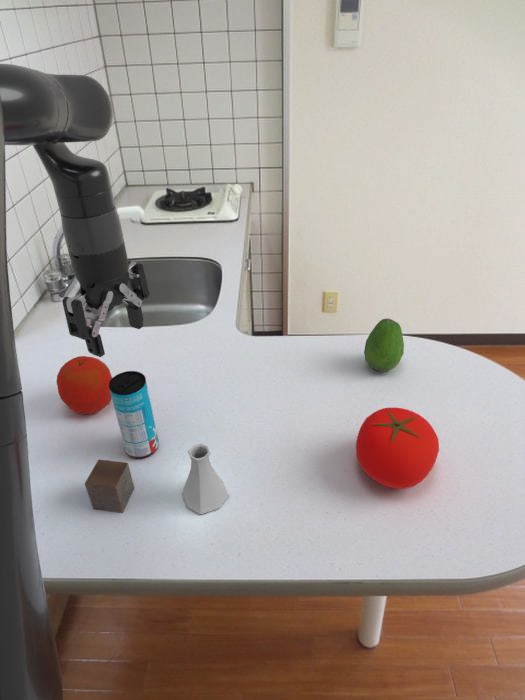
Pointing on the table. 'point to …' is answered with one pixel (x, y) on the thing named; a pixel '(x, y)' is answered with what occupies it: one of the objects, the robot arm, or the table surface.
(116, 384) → the beverage can
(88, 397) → the apple
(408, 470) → the tomato
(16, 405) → the robot arm
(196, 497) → the flask
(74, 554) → the table surface
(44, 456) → the table surface
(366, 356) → the avocado
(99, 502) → the walnut block
